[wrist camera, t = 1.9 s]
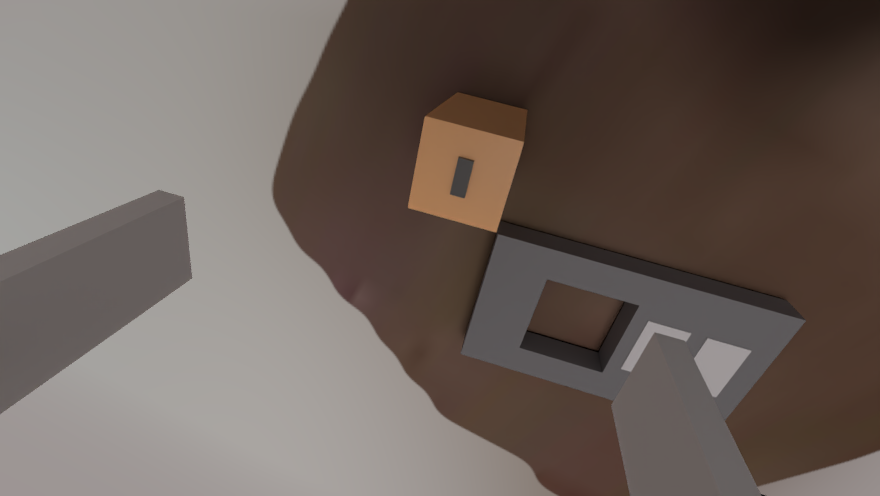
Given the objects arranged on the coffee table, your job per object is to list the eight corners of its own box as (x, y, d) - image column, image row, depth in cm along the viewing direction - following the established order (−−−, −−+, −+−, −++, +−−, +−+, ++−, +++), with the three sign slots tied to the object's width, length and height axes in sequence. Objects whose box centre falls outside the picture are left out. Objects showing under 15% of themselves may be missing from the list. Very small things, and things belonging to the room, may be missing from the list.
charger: (457, 92, 29) (423, 116, 20) (527, 109, 29) (524, 143, 20) (442, 160, 32) (406, 209, 23) (506, 177, 31) (495, 234, 22)
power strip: (500, 221, 33) (497, 234, 31) (786, 300, 31) (806, 321, 29) (464, 335, 39) (460, 354, 36) (704, 408, 37) (716, 432, 35)
